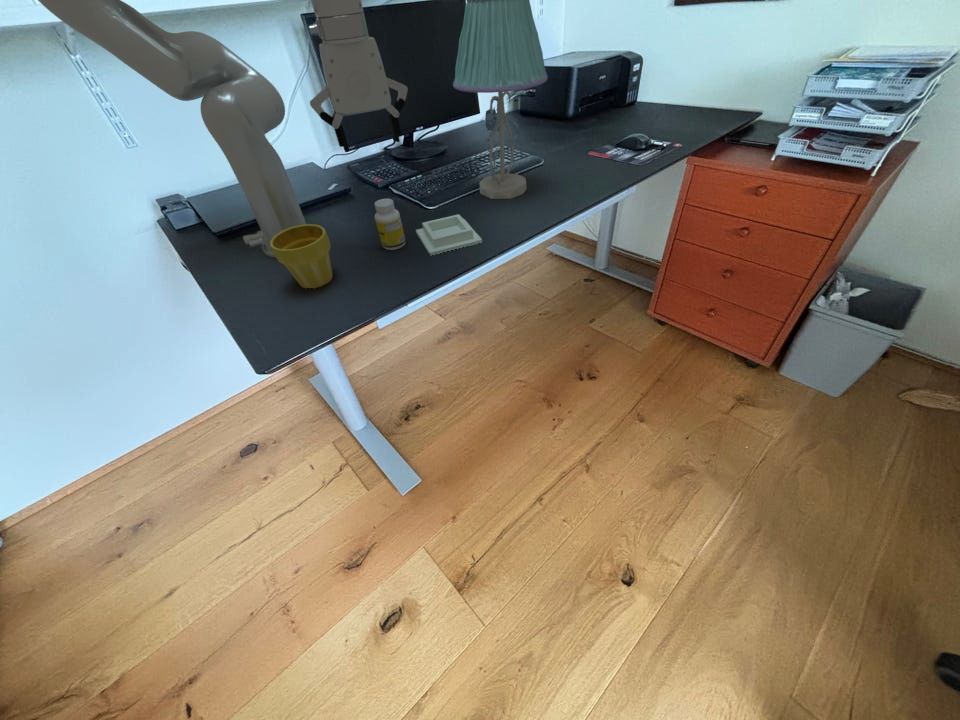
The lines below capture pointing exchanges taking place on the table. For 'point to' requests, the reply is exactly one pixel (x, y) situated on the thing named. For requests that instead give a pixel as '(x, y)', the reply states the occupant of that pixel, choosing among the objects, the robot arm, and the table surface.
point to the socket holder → (447, 234)
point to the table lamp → (499, 73)
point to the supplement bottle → (389, 225)
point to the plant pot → (304, 254)
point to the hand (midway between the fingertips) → (371, 145)
